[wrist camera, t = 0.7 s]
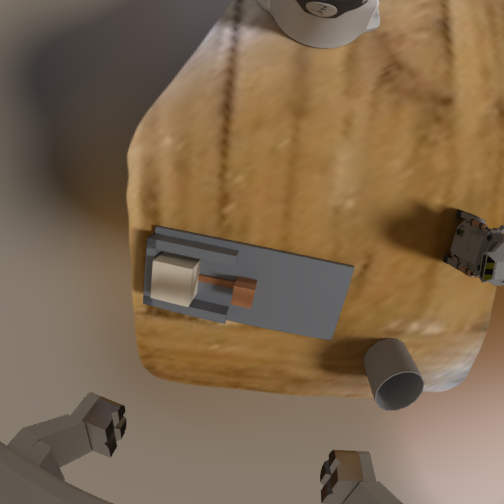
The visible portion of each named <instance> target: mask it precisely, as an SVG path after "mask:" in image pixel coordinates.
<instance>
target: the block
mask: <svg viewBox="0 0 504 504" xmlns="http://www.w3.org/2000/svg"><path fill="white" fill-rule="evenodd" d="M200 266H201V259H198V258H193V257H188V256H184V255H179V254H175V253H170V252H166V251H164V252H163V253H162V254H160V255H159V256H158V257H157V258H155V259H154V260H153V267H152V281H151V297H150V298H154V299H157V300H161V301H165V302H169V303H173V304H177V305H181V306H185V307H189V305H190V303H191V302H192V300H193V299H194V297H195V296H196V294H197V288H198V281H201V282H205V283H209V284H214V285H218V286H223V287H228V288H232V289H233V294H232V300H231V305H236V306H240V307H245V308H250V309H251V307H252V303H253V299H254V294H255V289H256V284H257V280H255V279H251V278H246V277H241V276H238V277H237V280H236V282H235V281H231V280H226V279H222V278H217V277H212V276H208V275H203V274H199V273H200Z"/></svg>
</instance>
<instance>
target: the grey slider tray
mask: <svg viewBox="0 0 504 504" xmlns="http://www.w3.org/2000/svg"><path fill="white" fill-rule="evenodd" d="M164 251H166V252H170V253H175V254H179V255H184V256H188V257H193V258H198V259H201V266H200V273H199V274H203V275H208V276H212V277H217V278H222V279H226V280H231V281H235V282H236V280H237V277H238V276H241V277H246V278H251V279H255V280H257V284H256V289H255V294H254V299H253V303H252V307H251V309H250V308H245V307H240V306H236V305H231V300H232V294H233V289H232V288H228V287H223V286H218V285H214V284H209V283H205V282H201V281H198V288H197V294H196V296H195V297H194V299H193V300H192V302H191V303H190V305H189V307H185V306H181V305H177V304H173V303H169V302H165V301H161V300H157V299H154V298H150V297H151V281H152V267H153V260H154V259H155V258H157V257H158V256H159V255H160V254H162V253H163V252H164ZM353 271H354V266H352V265H348V264H343V263H338V262H333V261H329V260H324V259H319V258H314V257H309V256H305V255H300V254H295V253H290V252H285V251H281V250H276V249H271V248H266V247H261V246H256V245H251V244H247V243H242V242H237V241H232V240H227V239H222V238H217V237H212V236H207V235H202V234H197V233H192V232H188V231H183V230H178V229H173V228H168V227H163V226H156V228H155V233H154V234H153V235H151V236H149V237H148V238H147V248H146V261H145V277H144V296H143V304H147V305H151V306H155V307H158V308H162V309H166V310H170V311H174V312H178V313H182V314H186V315H190V316H194V317H198V318H202V319H206V320H211V321H215V322H219V323H224V324H225V321H226V320H229V321H234V322H238V323H243V324H247V325H252V326H257V327H262V328H267V329H272V330H277V331H282V332H287V333H293V334H298V335H303V336H309V337H315V338H321V339H326V340H331V339H332V337H333V334H334V331H335V328H336V325H337V322H338V319H339V316H340V313H341V310H342V307H343V303H344V300H345V297H346V294H347V291H348V287H349V284H350V281H351V277H352V274H353Z"/></svg>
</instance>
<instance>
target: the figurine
mask: <svg viewBox="0 0 504 504" xmlns="http://www.w3.org/2000/svg"><path fill="white" fill-rule="evenodd" d="M456 216H457V217H459V218H462V219H465V220H464V221H463V222H462V223H461V224H459V225H458V226H457V229H456V233H455V236H454V239H453V243H452V246H451V249H450V251H451V255H452V256H449V255H446V254H445V256H444V259H443V262H445V263H447V264H449V265H451V266H452V267H454V268H456V269H458V270H460V271H462V272H463V273H464V274H466V275H468V276H470V277H474V276H475V277H476V278H478V277H479V278H480V280H481V282H490V283H491V284H493V285H495V286H498V285H504V234H502V233H503V232H504V226H503V225H501V226H500V228H499V229H498V228H493V229H490V228H488V225H486V224H485V222H486V221H485V220H483V219H480V218H479V217H477V216H475V215H472V214H469V213H467V212H464V211H462V210H459V209H458V211H457V215H456Z"/></svg>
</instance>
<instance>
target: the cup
mask: <svg viewBox="0 0 504 504" xmlns="http://www.w3.org/2000/svg"><path fill="white" fill-rule="evenodd" d="M364 367H365V371H366V374H367V377H368V380H369V383H370V386H371V390H372V393H373V396H374V400H375V402H376V403H377V405H378V407H379V408H381V409H384V410H386V411H397V410H400V409H402V408H405V407H408V406H409V405H410V404H412V403H413V402H415V401H416V400H417V399H418V397H419V396H420V394H421V393H422V392H423V387H424V381H423V378H422V376H421V374H420V372H419V370H418V368H417V366H416V364H415V363H414V361H413V359H412V357H411V355H410V353H409V352H408V350H407V348H406V346H405V344H404V343H403V342H401V341H400V340H398V339H395V338H386V339H383V340H380V341H377V342H376V343H375V344H374V345H372V346H371V347H370V348H369V349H368V351H367V352H366V354H365V356H364Z"/></svg>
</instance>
